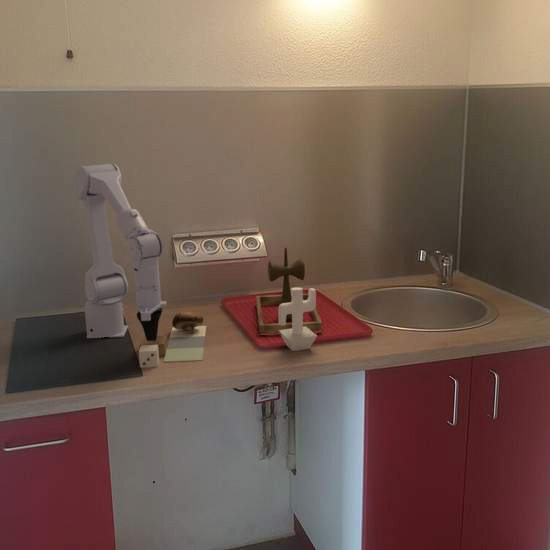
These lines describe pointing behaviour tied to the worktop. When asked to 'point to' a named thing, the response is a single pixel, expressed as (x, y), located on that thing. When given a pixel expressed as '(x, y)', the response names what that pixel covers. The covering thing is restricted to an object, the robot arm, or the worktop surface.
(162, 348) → the plinth
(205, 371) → the worktop surface
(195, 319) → the mushroom
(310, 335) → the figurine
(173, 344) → the board
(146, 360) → the beige cube
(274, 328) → the brown rectangular frame
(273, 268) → the kendama
